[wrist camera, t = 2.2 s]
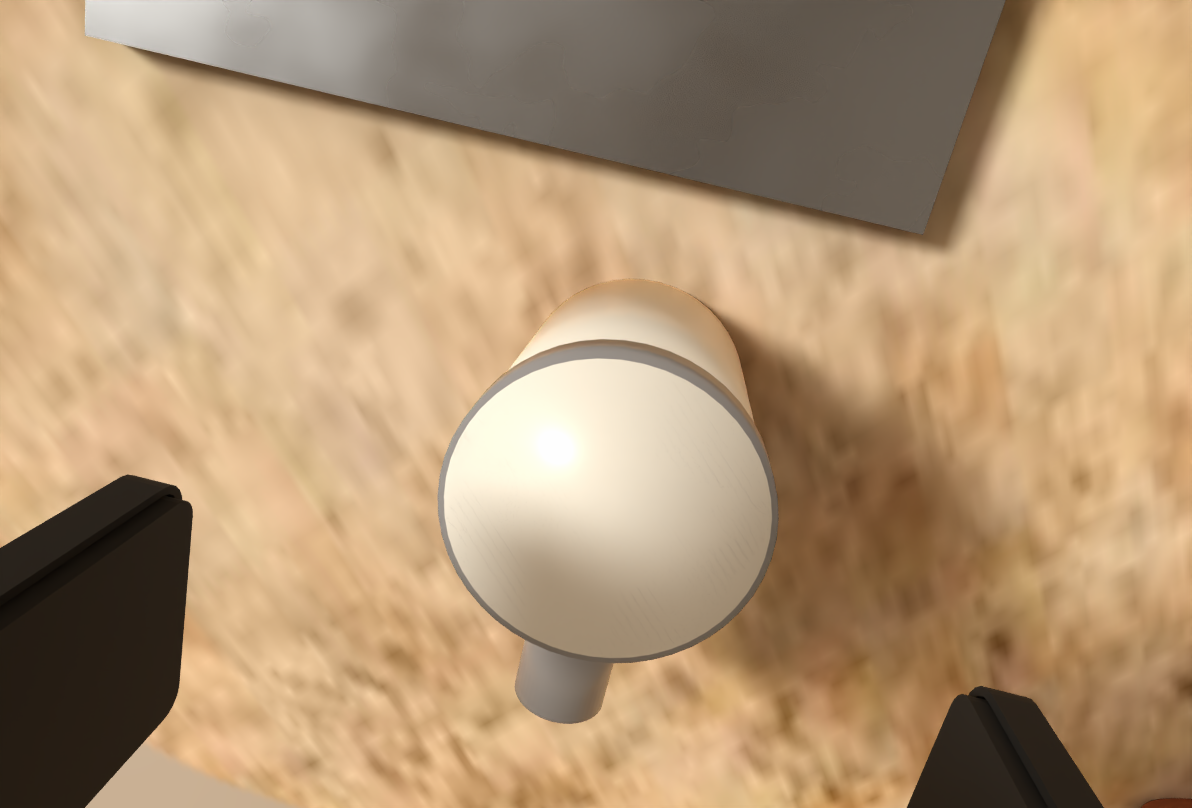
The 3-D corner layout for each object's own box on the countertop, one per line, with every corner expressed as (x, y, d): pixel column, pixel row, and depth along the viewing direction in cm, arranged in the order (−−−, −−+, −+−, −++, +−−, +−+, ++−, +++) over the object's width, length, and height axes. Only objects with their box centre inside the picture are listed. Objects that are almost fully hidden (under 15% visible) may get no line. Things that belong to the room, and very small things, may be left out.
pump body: (775, 306, 19) (824, 400, 12) (689, 592, 21) (690, 801, 15) (544, 249, 19) (467, 313, 12) (486, 541, 21) (396, 725, 15)
